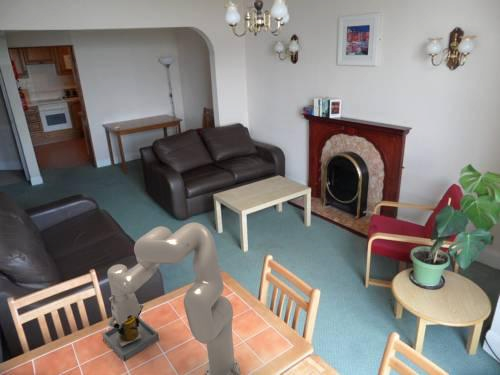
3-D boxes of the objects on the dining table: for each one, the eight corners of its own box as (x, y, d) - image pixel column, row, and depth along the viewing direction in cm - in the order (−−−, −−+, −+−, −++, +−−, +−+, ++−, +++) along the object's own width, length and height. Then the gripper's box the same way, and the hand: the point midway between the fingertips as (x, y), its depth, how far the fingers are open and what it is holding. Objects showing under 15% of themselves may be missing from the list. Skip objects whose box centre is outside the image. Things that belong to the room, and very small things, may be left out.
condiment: (141, 337, 155) (137, 313, 151) (121, 346, 151) (116, 323, 146) (135, 327, 161) (131, 304, 156) (116, 336, 156) (111, 313, 152)
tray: (159, 338, 156) (158, 333, 155) (124, 361, 146) (123, 355, 145) (137, 319, 168) (135, 314, 167) (103, 339, 158) (102, 333, 157)
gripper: (106, 309, 141) (114, 346, 147) (146, 287, 152) (152, 322, 158) (97, 300, 146) (105, 336, 152) (136, 280, 157) (142, 315, 163)
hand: (129, 329), depth 155 cm, fingers closed on condiment, 6 cm apart
